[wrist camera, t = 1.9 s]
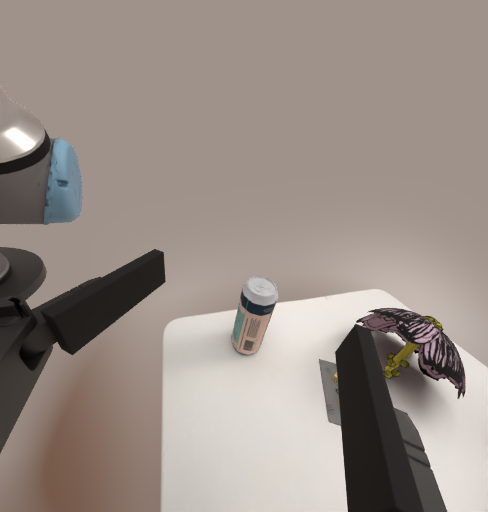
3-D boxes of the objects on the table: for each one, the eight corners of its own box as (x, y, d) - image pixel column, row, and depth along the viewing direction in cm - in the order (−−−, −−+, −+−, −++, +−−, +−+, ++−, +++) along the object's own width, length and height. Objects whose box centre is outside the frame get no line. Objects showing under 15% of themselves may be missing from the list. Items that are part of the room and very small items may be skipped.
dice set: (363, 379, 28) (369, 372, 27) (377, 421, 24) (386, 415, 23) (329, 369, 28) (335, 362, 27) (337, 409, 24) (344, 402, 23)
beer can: (266, 344, 30) (287, 289, 24) (245, 363, 27) (264, 305, 21) (246, 324, 33) (260, 270, 27) (225, 339, 30) (236, 281, 23)
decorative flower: (530, 365, 23) (465, 339, 19) (470, 431, 25) (399, 421, 21) (410, 303, 37) (356, 280, 32) (378, 350, 39) (323, 334, 35)
